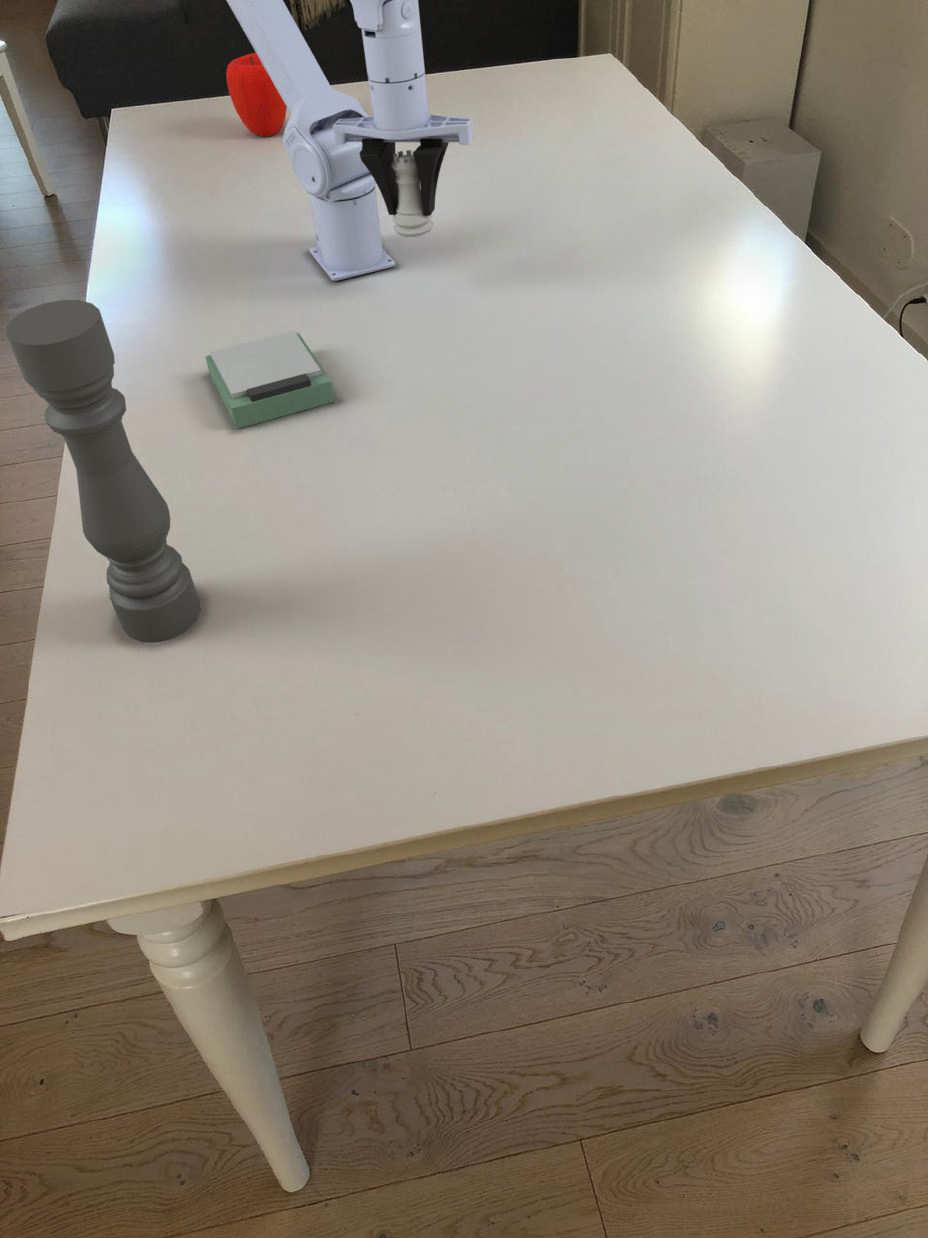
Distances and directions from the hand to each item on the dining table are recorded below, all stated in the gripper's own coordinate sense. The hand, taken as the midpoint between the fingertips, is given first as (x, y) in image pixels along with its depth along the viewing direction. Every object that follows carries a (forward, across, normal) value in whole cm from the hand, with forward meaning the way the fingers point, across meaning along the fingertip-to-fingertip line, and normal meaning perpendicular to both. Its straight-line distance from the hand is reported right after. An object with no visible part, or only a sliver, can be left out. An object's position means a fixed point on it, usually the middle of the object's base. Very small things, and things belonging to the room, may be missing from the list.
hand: (412, 211), depth 110 cm
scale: (+9, +9, +23) cm, 26 cm away
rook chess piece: (+2, 0, 0) cm, 2 cm away
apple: (+7, +39, -47) cm, 61 cm away
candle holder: (+10, +5, +55) cm, 56 cm away
